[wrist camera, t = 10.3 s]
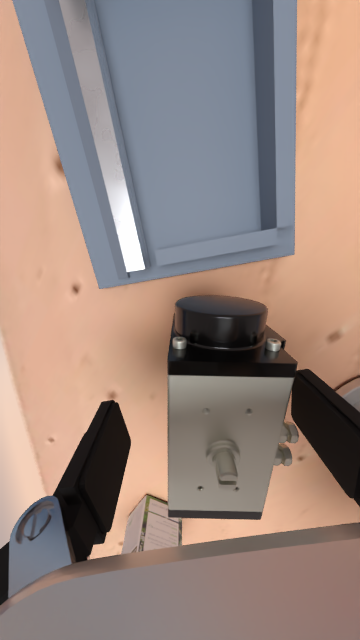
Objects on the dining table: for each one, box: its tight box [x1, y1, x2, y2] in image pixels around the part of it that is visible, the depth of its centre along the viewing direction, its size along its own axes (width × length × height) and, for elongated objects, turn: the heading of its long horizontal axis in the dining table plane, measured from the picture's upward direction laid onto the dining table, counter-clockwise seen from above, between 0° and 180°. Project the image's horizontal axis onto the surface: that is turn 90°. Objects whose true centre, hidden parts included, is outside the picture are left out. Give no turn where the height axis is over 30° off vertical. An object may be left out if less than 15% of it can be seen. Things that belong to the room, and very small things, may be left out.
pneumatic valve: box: [168, 295, 299, 520], centre depth 13 cm, size 6×12×12 cm, turn 179°
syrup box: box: [121, 495, 182, 554], centre depth 19 cm, size 6×6×14 cm
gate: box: [59, 0, 150, 272], centre depth 10 cm, size 16×1×6 cm, turn 10°
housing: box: [12, 0, 297, 289], centre depth 11 cm, size 22×16×4 cm
